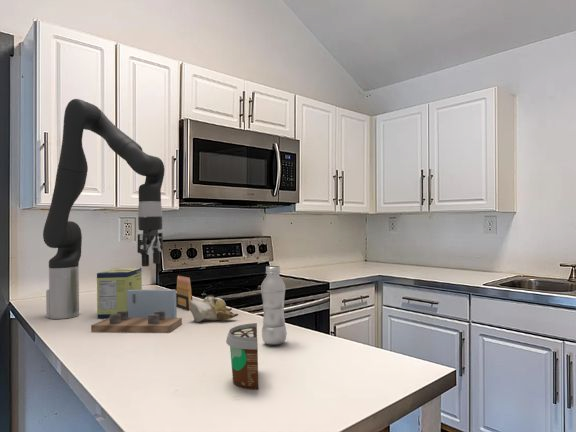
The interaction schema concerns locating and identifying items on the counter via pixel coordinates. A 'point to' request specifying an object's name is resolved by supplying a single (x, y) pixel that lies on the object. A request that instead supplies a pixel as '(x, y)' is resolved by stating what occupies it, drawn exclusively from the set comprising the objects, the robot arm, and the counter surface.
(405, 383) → the counter surface
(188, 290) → the ammunition clip
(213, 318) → the ceramic sculpture
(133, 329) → the cabinet base
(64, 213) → the robot arm
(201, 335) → the counter surface
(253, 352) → the food container
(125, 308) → the protein box
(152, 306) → the door
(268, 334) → the plastic bottle
